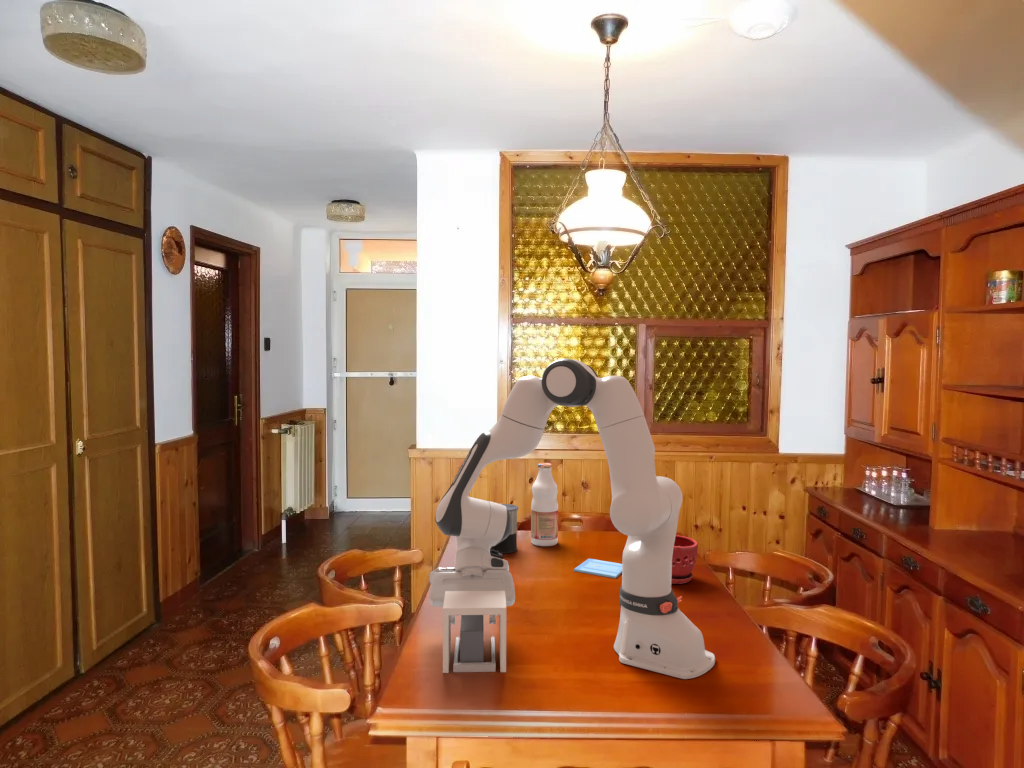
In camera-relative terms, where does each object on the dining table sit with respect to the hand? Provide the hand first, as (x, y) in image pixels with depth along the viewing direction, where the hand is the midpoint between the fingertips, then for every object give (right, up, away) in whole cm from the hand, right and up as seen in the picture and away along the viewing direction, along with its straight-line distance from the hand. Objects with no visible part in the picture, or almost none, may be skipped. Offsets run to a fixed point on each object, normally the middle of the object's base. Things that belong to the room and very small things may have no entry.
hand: (472, 623), depth 158 cm
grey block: (0, -6, -4) cm, 7 cm away
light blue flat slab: (+37, -3, +55) cm, 66 cm away
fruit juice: (+21, -1, +83) cm, 85 cm away
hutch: (+1, -6, -4) cm, 7 cm away
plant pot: (+57, -3, +46) cm, 74 cm away
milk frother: (+5, -2, +71) cm, 71 cm away
